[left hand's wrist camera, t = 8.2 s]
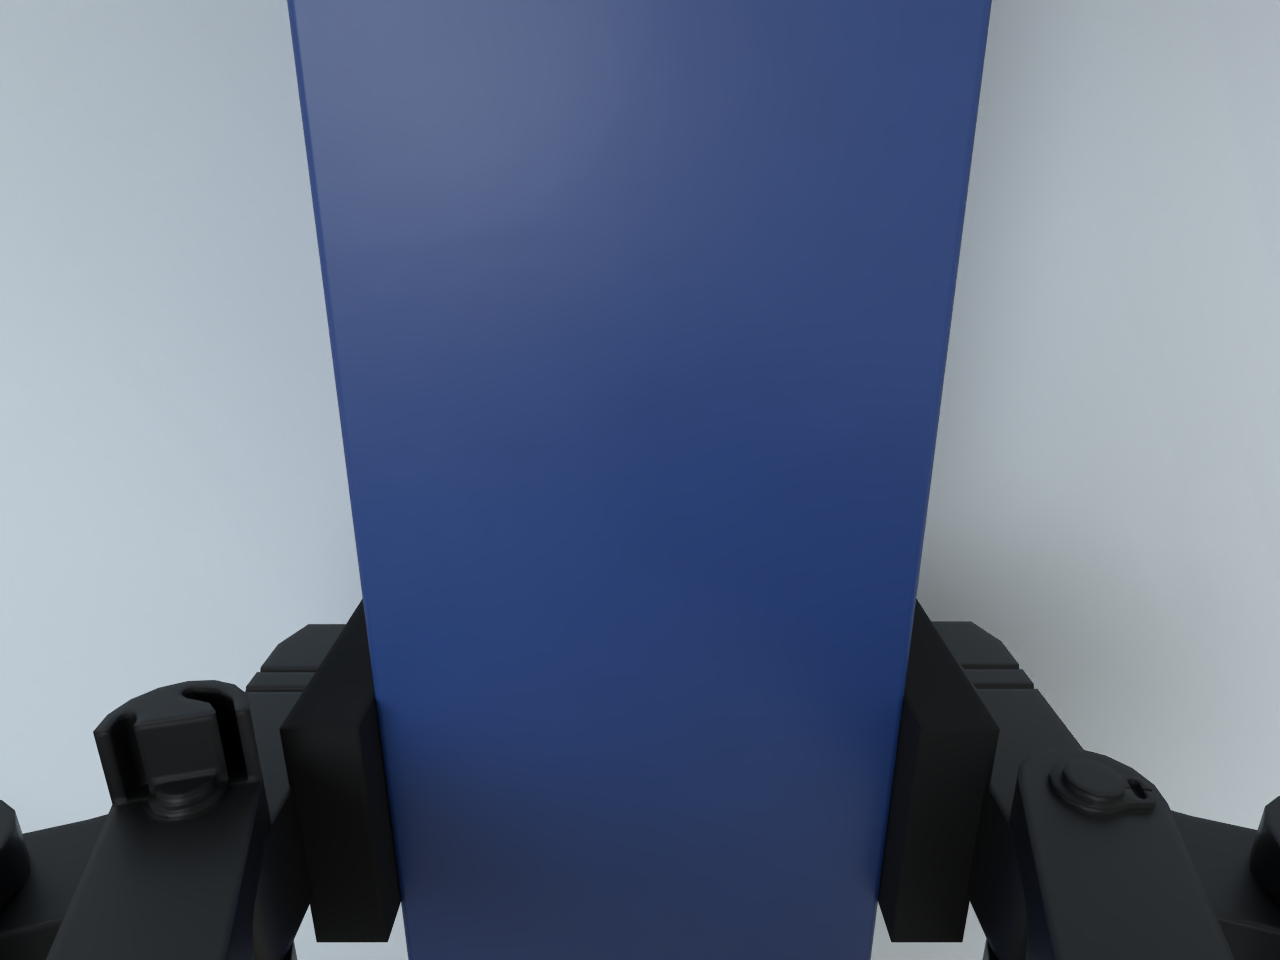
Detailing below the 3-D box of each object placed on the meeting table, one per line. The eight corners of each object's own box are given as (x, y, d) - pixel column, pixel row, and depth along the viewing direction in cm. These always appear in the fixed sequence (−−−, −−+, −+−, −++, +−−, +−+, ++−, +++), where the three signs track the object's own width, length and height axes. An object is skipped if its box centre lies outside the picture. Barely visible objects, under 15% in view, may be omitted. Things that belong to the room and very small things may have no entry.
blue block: (455, -262, 12) (158, -959, 5) (823, -262, 12) (1121, -959, 5) (514, 719, 18) (424, 1118, 11) (764, 720, 18) (853, 1117, 11)
